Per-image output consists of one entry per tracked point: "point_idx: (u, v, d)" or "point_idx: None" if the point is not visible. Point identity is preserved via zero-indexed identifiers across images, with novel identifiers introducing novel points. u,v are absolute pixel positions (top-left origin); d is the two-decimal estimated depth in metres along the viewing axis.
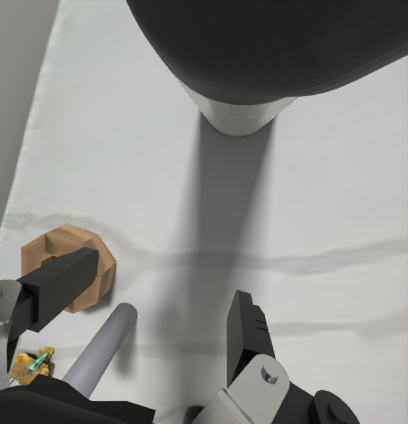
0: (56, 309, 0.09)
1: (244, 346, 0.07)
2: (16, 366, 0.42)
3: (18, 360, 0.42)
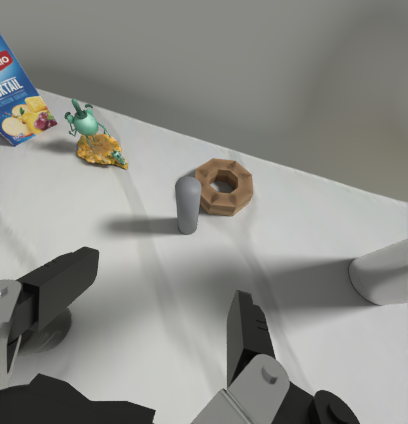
0: (56, 309, 0.09)
1: (244, 346, 0.07)
2: (106, 141, 0.50)
3: (113, 143, 0.51)
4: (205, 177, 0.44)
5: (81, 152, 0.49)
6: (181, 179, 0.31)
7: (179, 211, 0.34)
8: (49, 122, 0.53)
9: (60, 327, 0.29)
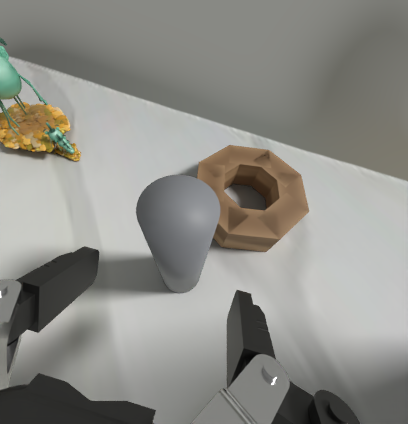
0: (56, 309, 0.09)
1: (244, 346, 0.07)
2: (45, 114, 0.30)
3: (57, 118, 0.30)
4: (216, 179, 0.24)
5: None
6: (158, 183, 0.10)
7: (158, 264, 0.13)
8: None
9: None
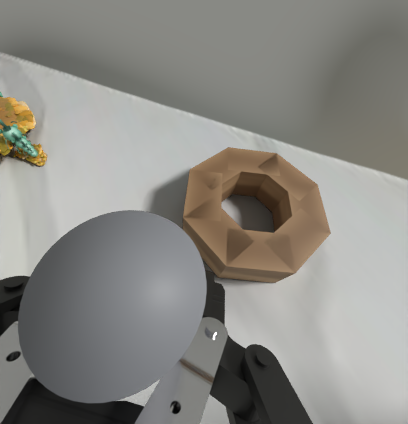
0: None
1: None
2: (6, 109, 0.25)
3: (20, 114, 0.25)
4: (211, 191, 0.19)
5: None
6: (85, 230, 0.05)
7: None
8: None
9: None
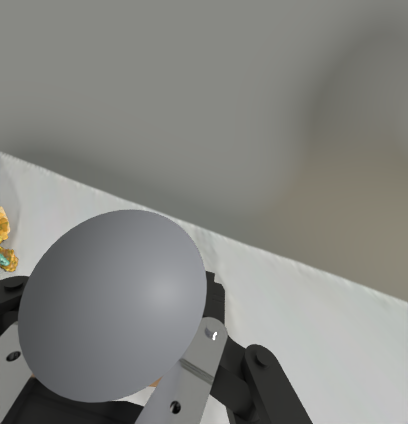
0: None
1: None
2: None
3: None
4: None
5: None
6: (85, 230, 0.05)
7: None
8: None
9: None
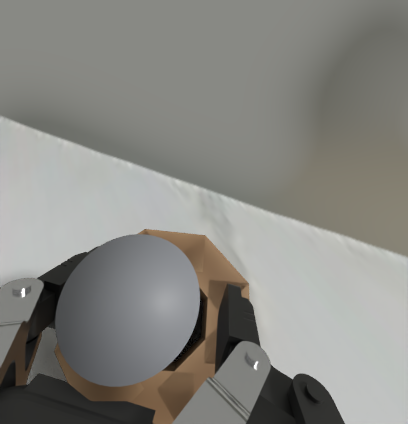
0: None
1: (230, 334, 0.07)
2: None
3: None
4: None
5: None
6: (103, 252, 0.06)
7: None
8: None
9: None
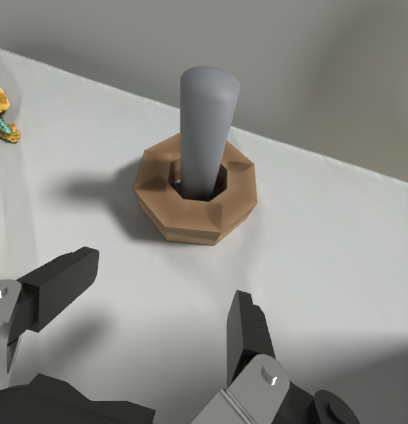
0: (56, 309, 0.09)
1: (244, 346, 0.07)
2: None
3: None
4: (160, 168, 0.22)
5: None
6: (193, 70, 0.14)
7: (186, 154, 0.17)
8: None
9: None
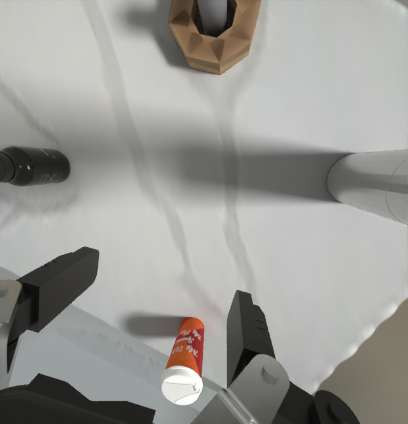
0: (56, 309, 0.09)
1: (244, 346, 0.07)
2: None
3: None
4: (186, 1, 0.30)
5: None
6: None
7: None
8: None
9: (59, 170, 0.39)
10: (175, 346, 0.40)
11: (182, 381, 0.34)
